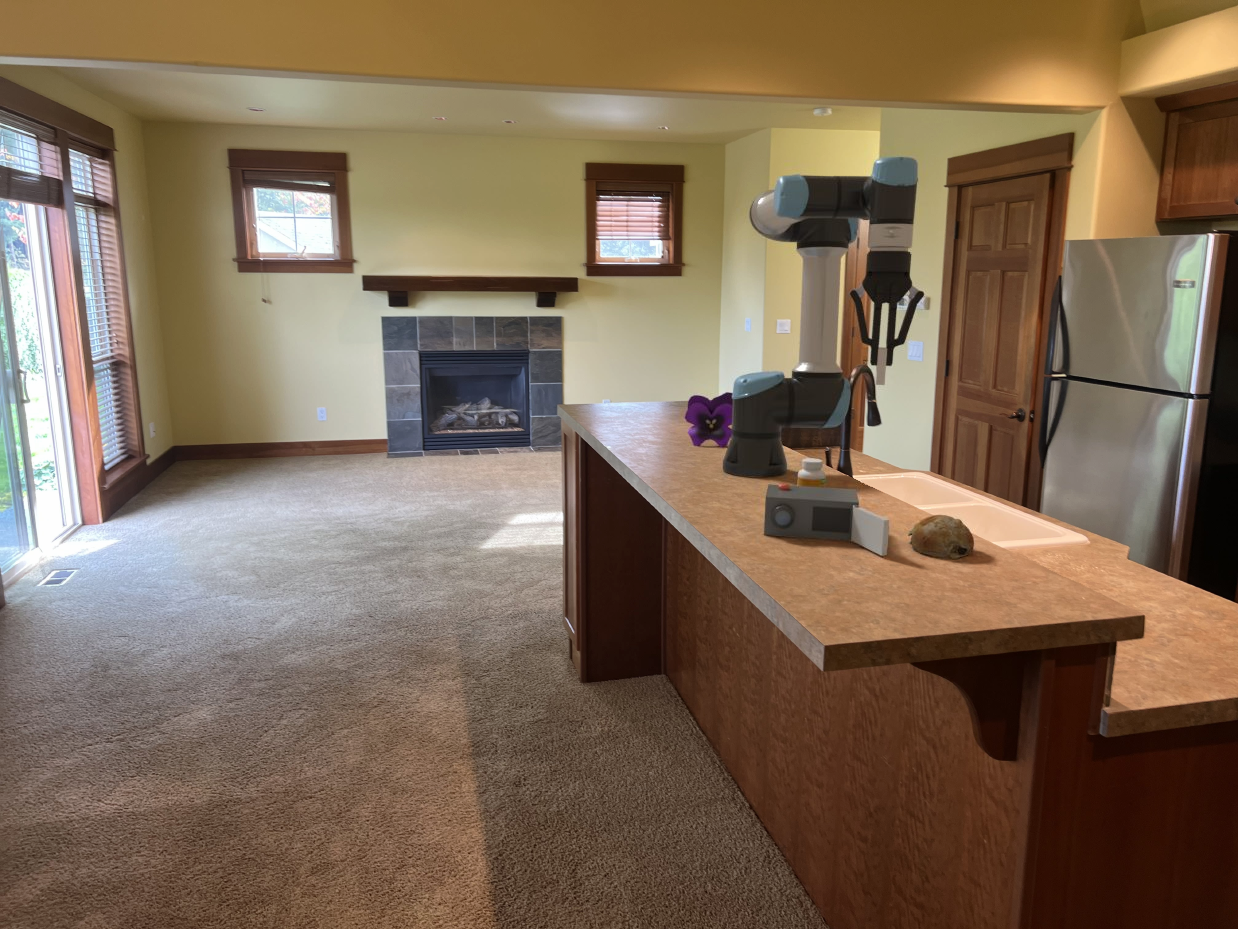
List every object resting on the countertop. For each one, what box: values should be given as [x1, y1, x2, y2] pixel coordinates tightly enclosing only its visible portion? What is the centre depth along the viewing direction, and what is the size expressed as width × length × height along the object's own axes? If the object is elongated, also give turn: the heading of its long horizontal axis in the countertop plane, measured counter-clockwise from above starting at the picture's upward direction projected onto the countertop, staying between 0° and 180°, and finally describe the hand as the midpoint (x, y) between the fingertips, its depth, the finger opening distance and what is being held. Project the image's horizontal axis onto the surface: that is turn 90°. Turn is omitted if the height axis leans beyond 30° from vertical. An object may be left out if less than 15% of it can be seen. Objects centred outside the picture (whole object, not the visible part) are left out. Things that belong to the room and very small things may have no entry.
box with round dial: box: [763, 483, 860, 542], centre depth 161 cm, size 12×16×8 cm
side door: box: [850, 504, 890, 557], centre depth 150 cm, size 2×10×6 cm, turn 18°
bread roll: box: [907, 514, 975, 560], centre depth 151 cm, size 10×10×8 cm
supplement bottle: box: [796, 457, 827, 488], centre depth 177 cm, size 5×5×10 cm
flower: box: [684, 391, 733, 448], centre depth 247 cm, size 15×15×14 cm
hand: (879, 383), depth 161 cm, fingers closed
